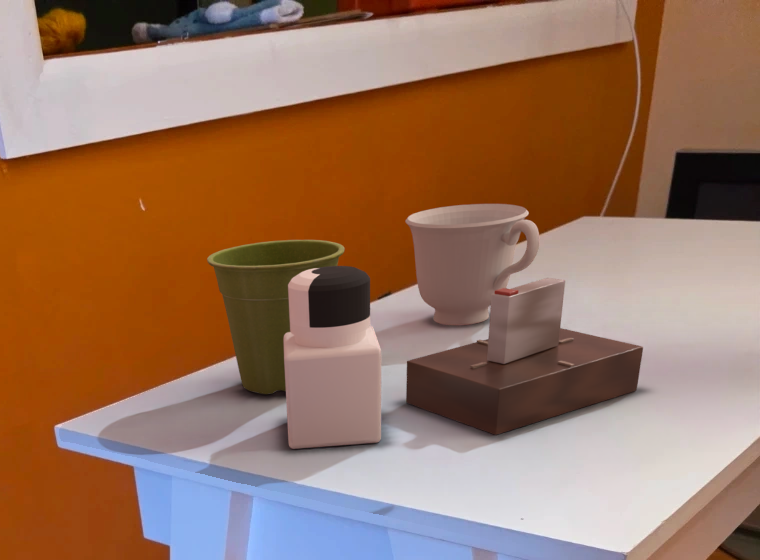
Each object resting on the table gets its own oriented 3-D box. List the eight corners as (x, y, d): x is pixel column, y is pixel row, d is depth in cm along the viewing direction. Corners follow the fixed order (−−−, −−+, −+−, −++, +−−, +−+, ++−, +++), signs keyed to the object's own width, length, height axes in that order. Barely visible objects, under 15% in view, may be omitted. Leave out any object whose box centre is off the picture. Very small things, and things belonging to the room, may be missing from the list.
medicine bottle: (373, 413, 79) (373, 256, 72) (381, 443, 74) (382, 276, 67) (287, 420, 80) (279, 265, 73) (289, 450, 74) (280, 285, 67)
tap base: (539, 364, 86) (543, 321, 84) (637, 390, 78) (644, 344, 76) (405, 403, 81) (406, 358, 79) (495, 435, 73) (499, 386, 71)
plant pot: (320, 407, 82) (316, 265, 76) (197, 401, 87) (183, 267, 80) (363, 367, 90) (363, 236, 84) (249, 363, 95) (240, 239, 89)
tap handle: (541, 342, 79) (547, 274, 76) (558, 345, 78) (566, 276, 75) (486, 360, 77) (491, 290, 74) (504, 364, 75) (509, 293, 72)
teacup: (487, 344, 93) (495, 230, 87) (380, 323, 103) (380, 220, 97) (567, 317, 98) (579, 208, 92) (457, 300, 108) (462, 201, 103)
